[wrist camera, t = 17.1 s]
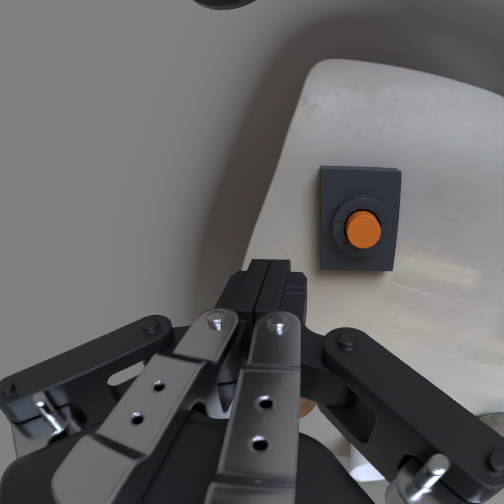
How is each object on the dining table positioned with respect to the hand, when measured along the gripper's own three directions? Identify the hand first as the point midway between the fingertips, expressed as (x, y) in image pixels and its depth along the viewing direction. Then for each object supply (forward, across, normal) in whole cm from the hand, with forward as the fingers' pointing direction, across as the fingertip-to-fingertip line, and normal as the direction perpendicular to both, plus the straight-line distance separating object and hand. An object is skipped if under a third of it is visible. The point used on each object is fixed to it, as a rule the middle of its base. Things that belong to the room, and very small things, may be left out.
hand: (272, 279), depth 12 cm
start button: (+21, -7, +5) cm, 22 cm away
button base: (+24, -7, +5) cm, 26 cm away
